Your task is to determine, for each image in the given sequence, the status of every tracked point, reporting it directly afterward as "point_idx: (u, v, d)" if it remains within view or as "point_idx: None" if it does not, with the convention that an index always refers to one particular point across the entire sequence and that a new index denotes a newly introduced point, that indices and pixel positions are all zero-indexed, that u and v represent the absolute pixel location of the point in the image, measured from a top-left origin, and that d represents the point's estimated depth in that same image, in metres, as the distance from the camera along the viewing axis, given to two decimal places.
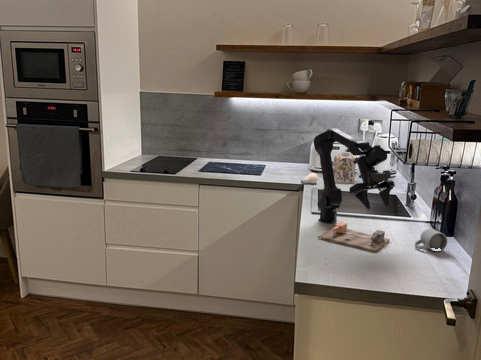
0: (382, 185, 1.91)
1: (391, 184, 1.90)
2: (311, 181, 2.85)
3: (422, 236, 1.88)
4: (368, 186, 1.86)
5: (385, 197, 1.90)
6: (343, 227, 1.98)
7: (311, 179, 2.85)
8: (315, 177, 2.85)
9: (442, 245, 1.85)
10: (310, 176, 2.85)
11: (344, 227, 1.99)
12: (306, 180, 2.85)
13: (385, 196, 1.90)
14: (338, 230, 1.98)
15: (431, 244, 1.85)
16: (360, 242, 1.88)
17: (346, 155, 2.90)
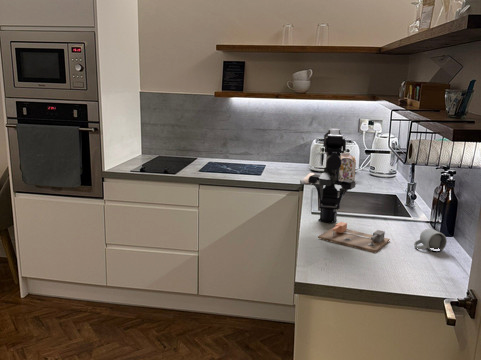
0: None
1: (345, 187, 1.92)
2: None
3: (421, 236, 1.88)
4: None
5: None
6: (343, 227, 1.98)
7: None
8: None
9: (441, 245, 1.85)
10: (309, 176, 2.85)
11: (344, 227, 1.99)
12: (305, 180, 2.85)
13: None
14: (338, 230, 1.98)
15: (430, 244, 1.85)
16: (360, 242, 1.88)
17: (346, 155, 2.90)
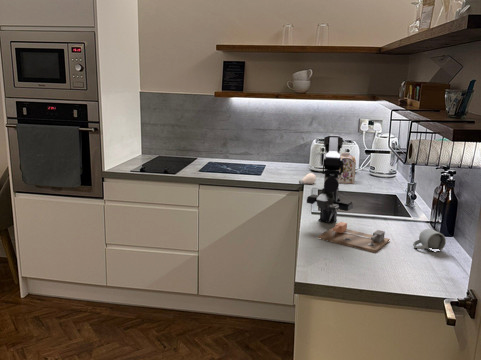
0: None
1: (342, 208, 1.95)
2: (309, 181, 2.84)
3: (420, 236, 1.88)
4: None
5: None
6: (343, 227, 1.98)
7: (309, 180, 2.84)
8: (313, 177, 2.84)
9: (440, 245, 1.85)
10: (308, 176, 2.84)
11: (344, 227, 1.99)
12: (304, 180, 2.84)
13: None
14: (338, 230, 1.98)
15: (429, 244, 1.85)
16: (360, 242, 1.88)
17: (346, 155, 2.90)
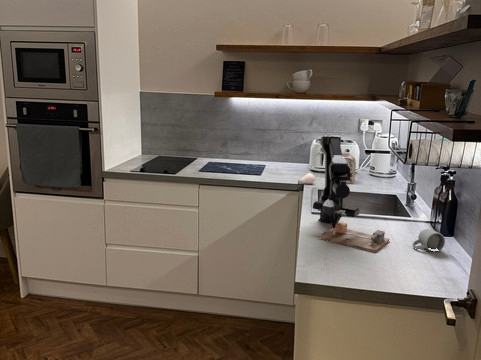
0: None
1: (348, 214, 1.93)
2: (308, 181, 2.84)
3: (420, 236, 1.88)
4: None
5: None
6: (343, 227, 1.98)
7: (308, 180, 2.84)
8: (312, 177, 2.84)
9: (440, 245, 1.85)
10: (307, 176, 2.84)
11: (344, 227, 1.99)
12: (303, 180, 2.84)
13: None
14: (338, 230, 1.98)
15: (429, 244, 1.85)
16: (360, 242, 1.88)
17: (346, 155, 2.90)
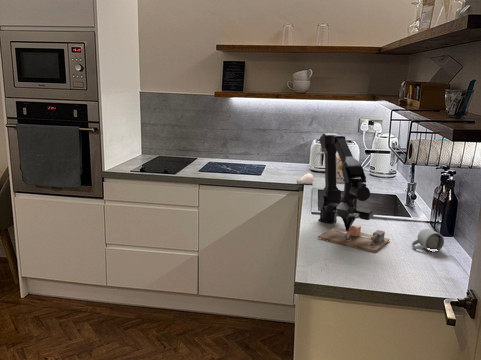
0: (360, 213, 1.93)
1: (363, 217, 1.90)
2: (307, 181, 2.84)
3: (419, 236, 1.88)
4: None
5: None
6: (357, 230, 1.95)
7: (306, 180, 2.83)
8: (311, 177, 2.83)
9: (439, 245, 1.85)
10: (306, 176, 2.84)
11: (358, 230, 1.95)
12: (302, 180, 2.84)
13: None
14: (352, 233, 1.95)
15: (428, 244, 1.85)
16: (360, 242, 1.88)
17: None
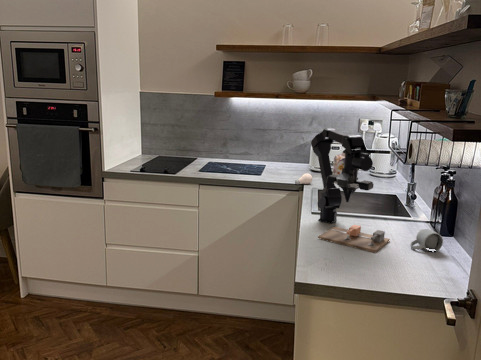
0: None
1: (362, 188, 1.93)
2: (305, 181, 2.83)
3: (418, 236, 1.88)
4: (350, 183, 1.98)
5: None
6: (357, 230, 1.95)
7: (305, 180, 2.83)
8: (309, 177, 2.83)
9: (438, 245, 1.85)
10: (304, 176, 2.83)
11: (358, 230, 1.95)
12: (300, 180, 2.83)
13: None
14: (352, 233, 1.95)
15: (427, 244, 1.85)
16: (360, 242, 1.88)
17: None
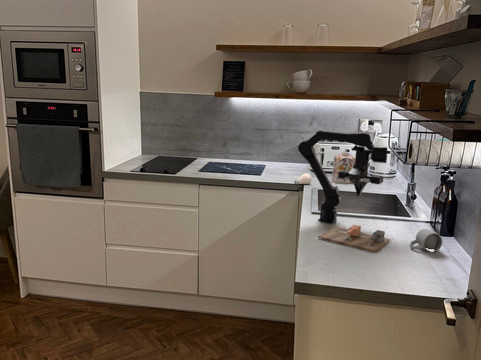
0: None
1: (373, 182, 2.03)
2: (304, 181, 2.83)
3: (417, 236, 1.88)
4: (361, 178, 2.07)
5: None
6: (357, 230, 1.95)
7: (304, 180, 2.83)
8: (308, 177, 2.83)
9: (437, 245, 1.85)
10: (303, 176, 2.83)
11: (358, 230, 1.95)
12: (299, 180, 2.83)
13: None
14: (352, 233, 1.95)
15: (426, 244, 1.84)
16: (360, 242, 1.88)
17: (346, 155, 2.90)
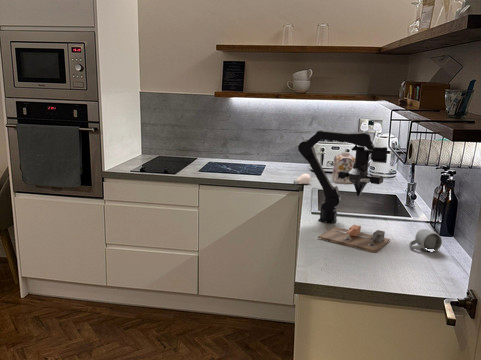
0: None
1: (373, 182, 2.03)
2: (304, 181, 2.83)
3: (417, 236, 1.88)
4: (361, 178, 2.07)
5: None
6: (357, 230, 1.95)
7: (303, 180, 2.83)
8: (308, 177, 2.83)
9: (437, 245, 1.85)
10: (303, 176, 2.83)
11: (358, 230, 1.95)
12: (299, 180, 2.83)
13: None
14: (352, 233, 1.95)
15: (426, 244, 1.84)
16: (360, 242, 1.88)
17: (346, 155, 2.90)
